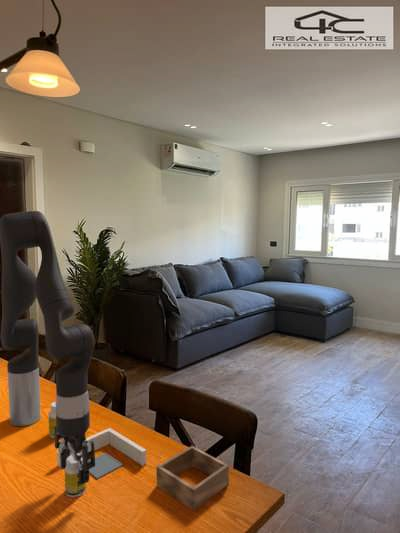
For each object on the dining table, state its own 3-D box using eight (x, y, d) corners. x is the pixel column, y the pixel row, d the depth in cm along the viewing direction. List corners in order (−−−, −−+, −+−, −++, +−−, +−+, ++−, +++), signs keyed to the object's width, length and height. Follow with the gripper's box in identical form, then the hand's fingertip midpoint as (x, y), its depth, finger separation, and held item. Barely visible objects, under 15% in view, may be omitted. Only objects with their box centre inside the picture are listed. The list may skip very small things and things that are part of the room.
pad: (80, 466, 106) (80, 464, 106) (105, 453, 112) (105, 452, 112) (97, 479, 100) (97, 478, 100) (123, 465, 106) (123, 464, 106)
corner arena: (57, 465, 106) (57, 451, 106) (109, 440, 118) (109, 427, 118) (92, 494, 95) (91, 479, 94) (146, 463, 107) (146, 449, 107)
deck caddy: (156, 485, 98) (156, 466, 98) (191, 463, 108) (192, 445, 107) (193, 510, 90) (194, 490, 89) (228, 484, 99) (228, 465, 99)
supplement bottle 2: (79, 499, 93) (78, 465, 92) (61, 496, 94) (60, 463, 93) (89, 486, 98) (88, 453, 97) (71, 483, 99) (70, 451, 98)
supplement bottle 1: (45, 436, 120) (44, 405, 119) (57, 428, 125) (56, 398, 124) (59, 440, 118) (58, 409, 117) (71, 431, 123) (70, 401, 122)
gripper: (43, 405, 96) (45, 469, 97) (74, 426, 86) (76, 496, 88) (71, 396, 101) (73, 456, 103) (103, 414, 91) (105, 480, 93)
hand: (74, 474), depth 95 cm, fingers open, 8 cm apart
